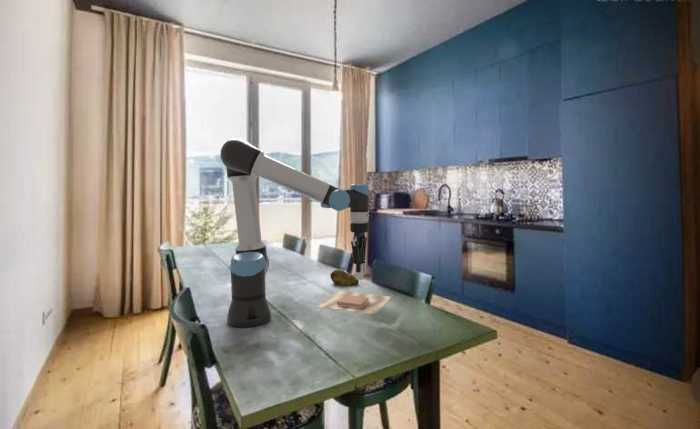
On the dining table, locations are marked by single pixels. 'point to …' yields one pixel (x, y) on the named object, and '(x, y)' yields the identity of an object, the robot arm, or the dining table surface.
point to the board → (370, 308)
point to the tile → (353, 301)
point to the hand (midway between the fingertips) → (359, 279)
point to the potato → (343, 278)
